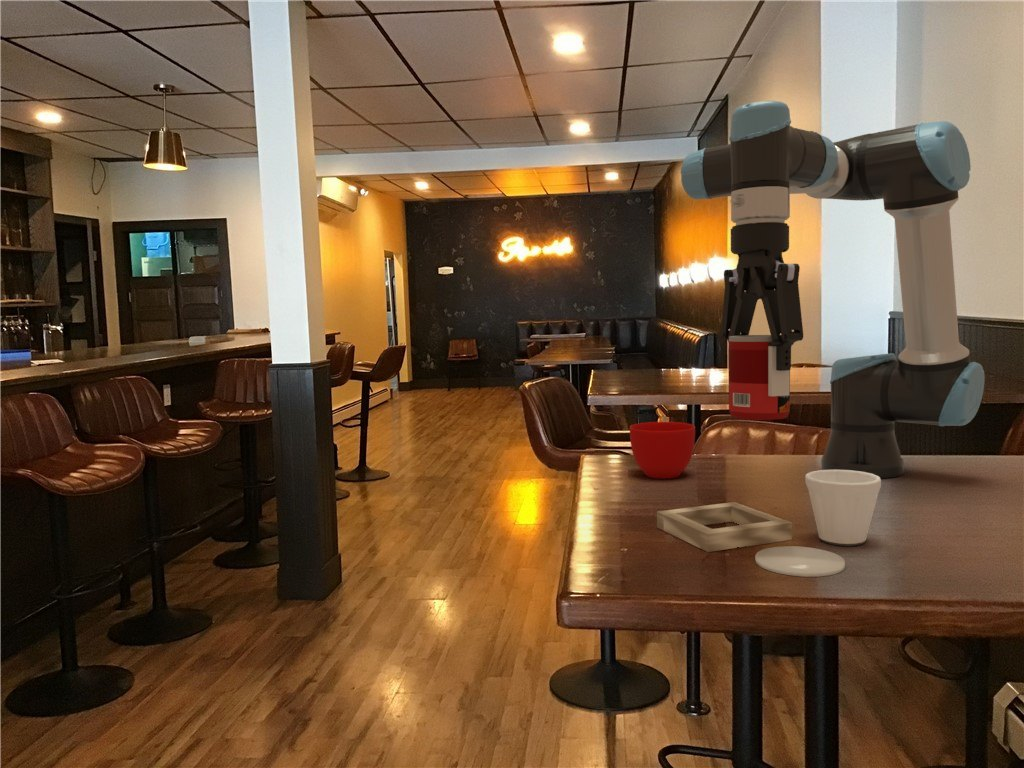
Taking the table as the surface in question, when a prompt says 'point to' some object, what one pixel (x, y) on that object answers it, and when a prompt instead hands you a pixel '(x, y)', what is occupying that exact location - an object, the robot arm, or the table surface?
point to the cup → (843, 504)
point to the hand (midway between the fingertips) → (759, 392)
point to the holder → (748, 533)
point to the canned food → (752, 380)
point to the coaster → (800, 561)
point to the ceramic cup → (662, 447)
